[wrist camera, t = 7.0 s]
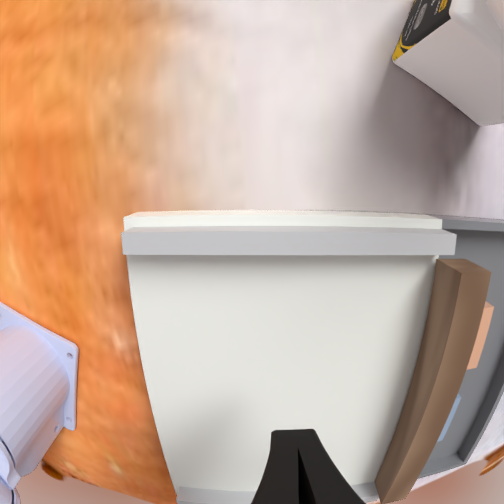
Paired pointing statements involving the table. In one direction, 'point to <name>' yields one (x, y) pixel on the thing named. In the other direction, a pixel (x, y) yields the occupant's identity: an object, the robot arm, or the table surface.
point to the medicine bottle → (458, 54)
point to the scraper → (435, 373)
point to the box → (494, 350)
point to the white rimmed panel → (277, 335)
